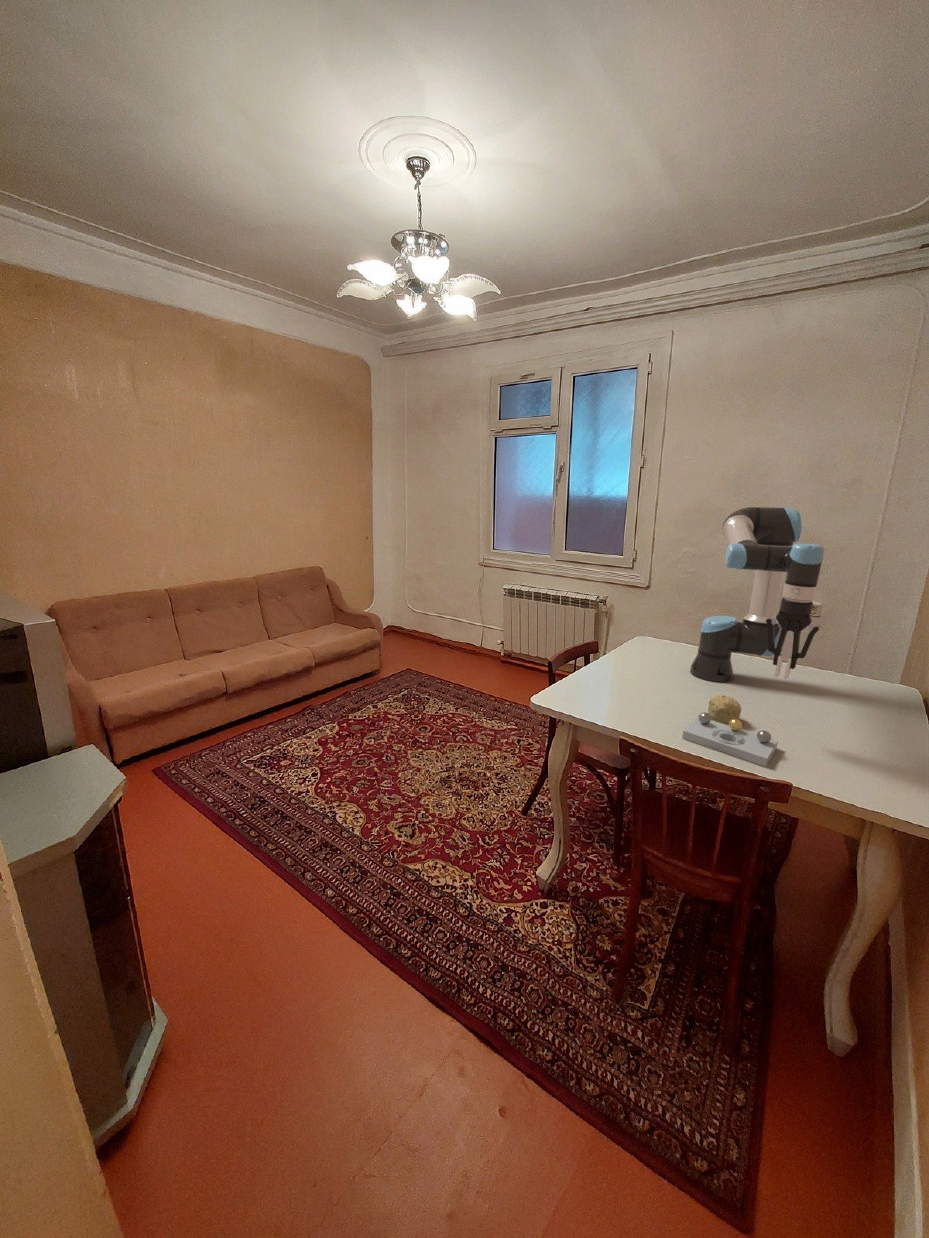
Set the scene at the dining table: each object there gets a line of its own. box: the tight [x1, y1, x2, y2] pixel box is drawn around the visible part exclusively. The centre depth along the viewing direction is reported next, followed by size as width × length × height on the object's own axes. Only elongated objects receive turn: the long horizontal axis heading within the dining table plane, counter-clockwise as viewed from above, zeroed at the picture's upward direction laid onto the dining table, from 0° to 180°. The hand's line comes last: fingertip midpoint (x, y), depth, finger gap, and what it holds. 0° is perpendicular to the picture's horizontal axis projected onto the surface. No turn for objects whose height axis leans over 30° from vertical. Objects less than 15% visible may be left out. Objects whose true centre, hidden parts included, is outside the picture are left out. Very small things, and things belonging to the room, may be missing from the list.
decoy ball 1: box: [698, 712, 711, 724], centre depth 153 cm, size 4×4×4 cm
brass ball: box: [729, 719, 743, 731], centre depth 149 cm, size 4×4×4 cm
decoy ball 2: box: [756, 730, 772, 743], centre depth 142 cm, size 4×4×4 cm
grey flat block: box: [682, 715, 779, 768], centre depth 147 cm, size 13×22×2 cm, turn 48°
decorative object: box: [707, 694, 742, 725], centre depth 161 cm, size 9×10×10 cm
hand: (781, 676), depth 148 cm, fingers open, 2 cm apart
